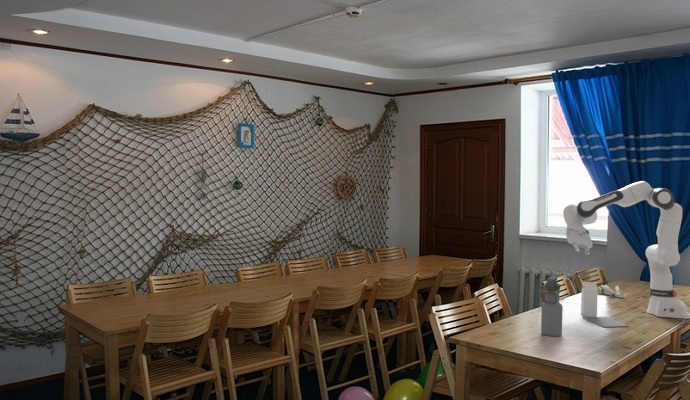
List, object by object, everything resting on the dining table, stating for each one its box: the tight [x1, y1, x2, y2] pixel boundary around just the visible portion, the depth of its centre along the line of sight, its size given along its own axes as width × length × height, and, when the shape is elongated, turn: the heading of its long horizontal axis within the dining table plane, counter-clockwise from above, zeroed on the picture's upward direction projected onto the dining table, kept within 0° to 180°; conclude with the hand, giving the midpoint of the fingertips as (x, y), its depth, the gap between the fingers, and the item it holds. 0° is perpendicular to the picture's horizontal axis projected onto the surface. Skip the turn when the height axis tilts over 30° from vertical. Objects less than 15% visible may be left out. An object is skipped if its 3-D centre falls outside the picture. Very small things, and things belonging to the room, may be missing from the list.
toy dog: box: [597, 280, 627, 299], centre depth 395 cm, size 12×19×9 cm, turn 47°
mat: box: [582, 316, 630, 329], centre depth 321 cm, size 20×14×1 cm
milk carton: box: [580, 281, 598, 317], centre depth 336 cm, size 7×7×19 cm
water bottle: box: [540, 276, 564, 337], centre depth 295 cm, size 10×10×28 cm
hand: (582, 252), depth 343 cm, fingers open, 8 cm apart
